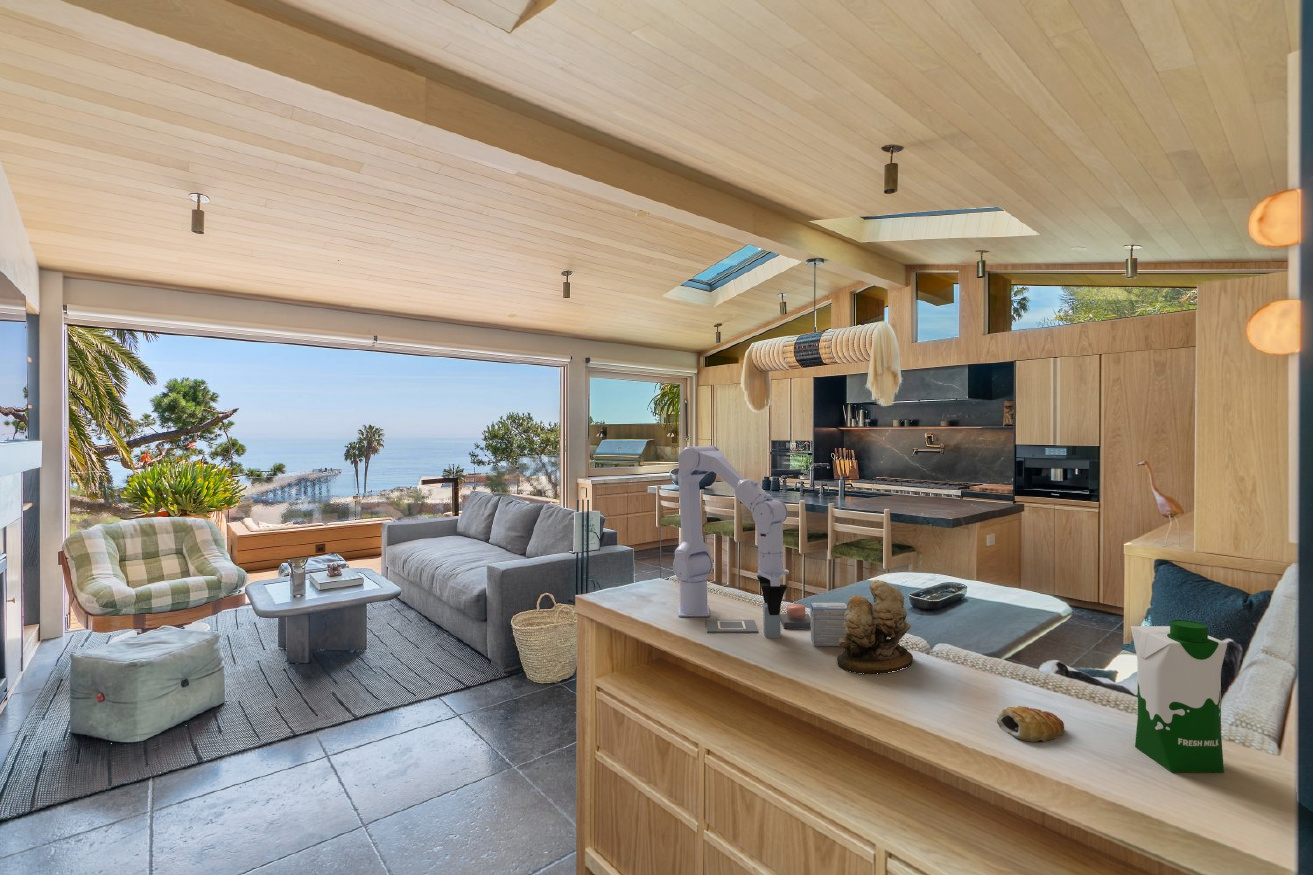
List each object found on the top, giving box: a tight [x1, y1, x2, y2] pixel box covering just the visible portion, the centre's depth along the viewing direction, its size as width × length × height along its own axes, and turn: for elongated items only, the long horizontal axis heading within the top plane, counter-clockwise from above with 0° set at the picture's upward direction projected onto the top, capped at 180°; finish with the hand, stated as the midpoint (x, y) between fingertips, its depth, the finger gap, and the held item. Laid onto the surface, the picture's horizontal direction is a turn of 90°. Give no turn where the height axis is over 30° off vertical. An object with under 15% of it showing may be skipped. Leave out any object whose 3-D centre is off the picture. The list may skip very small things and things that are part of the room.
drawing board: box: [705, 619, 759, 634], centre depth 154 cm, size 9×12×1 cm
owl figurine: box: [836, 579, 914, 675], centre depth 129 cm, size 18×12×17 cm, turn 120°
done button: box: [786, 603, 806, 618], centre depth 155 cm, size 4×4×2 cm
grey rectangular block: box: [762, 602, 782, 638], centre depth 147 cm, size 4×4×8 cm
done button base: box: [780, 613, 811, 630], centre depth 155 cm, size 7×7×2 cm
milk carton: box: [1130, 619, 1228, 774], centre depth 90 cm, size 9×9×20 cm
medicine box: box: [809, 602, 847, 647], centre depth 141 cm, size 8×4×9 cm, turn 84°
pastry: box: [996, 705, 1065, 743], centre depth 99 cm, size 9×7×4 cm
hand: (771, 610), depth 147 cm, fingers open, 7 cm apart
